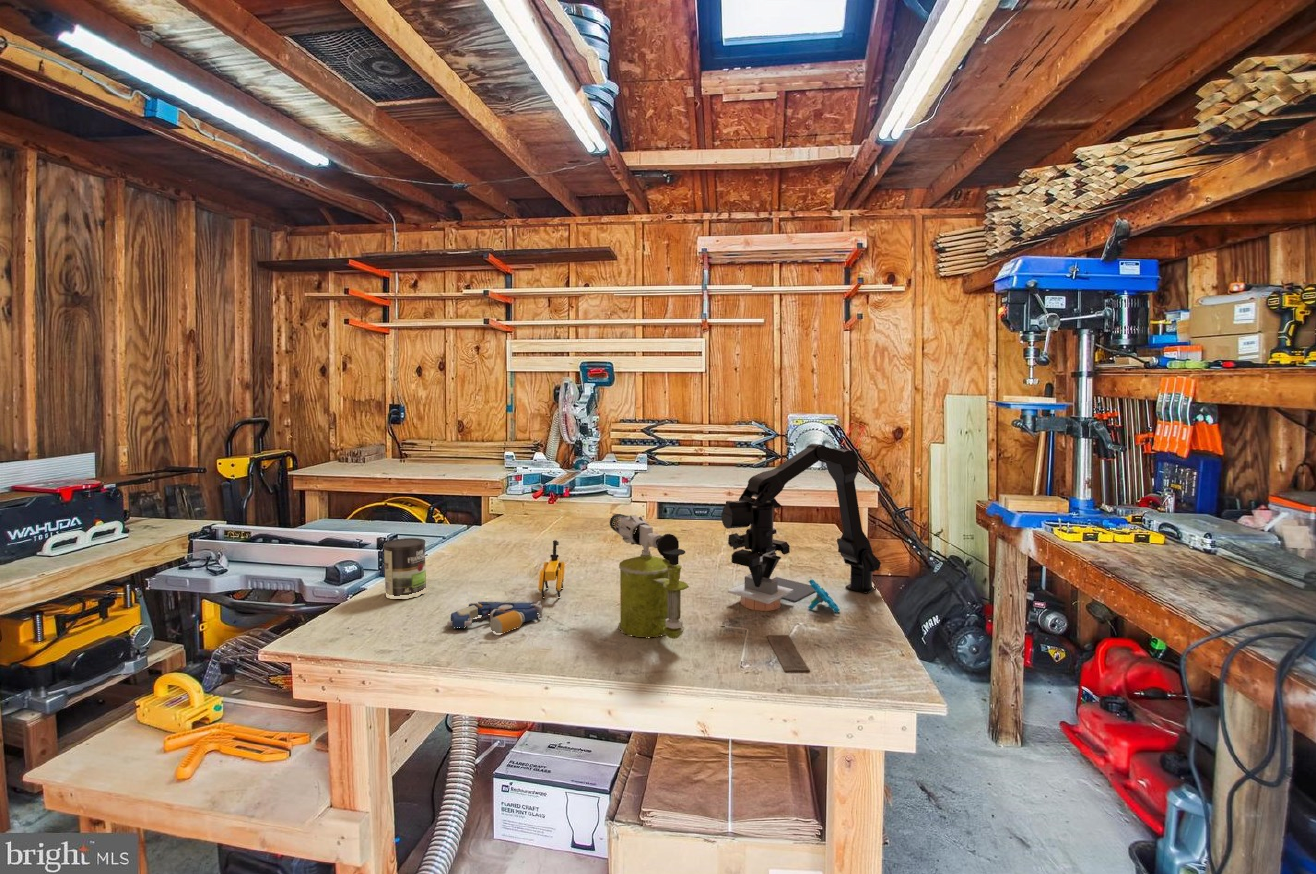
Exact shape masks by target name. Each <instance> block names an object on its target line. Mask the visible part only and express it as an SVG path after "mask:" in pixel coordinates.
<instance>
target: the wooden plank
mask: <svg viewBox="0 0 1316 874" xmlns="http://www.w3.org/2000/svg"><path fill="white" fill-rule="evenodd" d="M766 638H767V640H768V642H769V644H770V646H771V648H772V650H773V653H774V654H775V656H776V657H777V660H778V661H779V663H780V665H781V667H782V669H783V670H784V673H810V672H811V670H810V668H809V667H808V666H807V665H808V664H806V662H805V660H804V658H803V657H802V655H801V654H800V653H799V651H798V649H797V646H796V645H795V643H794V642H793V639H791V637H790V635H788V634H781V635H780V634H774V635H773V634H768V635H767V634H766Z"/></svg>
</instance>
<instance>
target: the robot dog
mask: <svg viewBox="0 0 1316 874" xmlns="http://www.w3.org/2000/svg"><path fill="white" fill-rule="evenodd" d="M552 543H553V544H552V554H550V556H549V557H550V559H549V561H548V562H547V561H545V562H544V563H543V569H541V570H540V572H539V580H538V590H539V592H541V597H542V598H543V597H545V598H546V595H545V589H546V588H548V589H549V585H548V582H549V581H550V582H552V581H554V582H555V581H556V585H555V590H556V592H557V598H558V597H560V596H561V588H563V589H564V581H565V570H566V569H565V568H566V564H565V561H561V559H560V558H559V554H557V546H559V545H560V544H559V541H557V540H556V539H555V540H553V541H552ZM544 587H545V589H544Z"/></svg>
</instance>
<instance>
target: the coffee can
mask: <svg viewBox="0 0 1316 874" xmlns="http://www.w3.org/2000/svg"><path fill="white" fill-rule="evenodd" d="M383 550H384V551H383V555H384V556H383V557H384V583H385V584H384V586H385V590H384V591H386V593H387V594H389V595H394V596H400V595H409V594H412V593H416V592H419V591H421V590H423V589H424V588H426V589H427V580H426V579H427V576H426V573H427V572H426V571H427V570H426V540H425V539H423V538H418V537H417V538H416V537H407V538H404V537H403V538H399V539H393V540H392V539H391V540H387V542H385V543H383Z"/></svg>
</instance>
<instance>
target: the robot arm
mask: <svg viewBox="0 0 1316 874" xmlns="http://www.w3.org/2000/svg"><path fill="white" fill-rule="evenodd" d="M818 462H822V463H824V464H825V465H826V468H827V472H828V473H829V475H830V476H831V478H832V479H833V481H834V483H835V488H836V493H837V500H838V504H839V505H838V506H839V513H840V517H841V519H840V520H841V525H842V529H843V530H842V531H843V532H842V534H841V536H840V537H839V538H837V539H836V542H837V547H838V550H837V552H838V553H839V554H840V555H841V557H842V558H843V561H844V564H845V565H849V566H850V575H849V576H850V579H849V580H850V582H849V584H847V585H845V589H847V590H851V591H856V592H859V593H865V594H870V593H871V592H873V591H874V590H876V589H877V587H878V586H877V585H873V572H874V573H875V571H879V570H880V567H881V564H882V563H881V561H880V559H878V558H877V556H876V555H875V554H874V553H873V548H872V545H871V543H870V540H869V539H868V536H866V534H865V532H864V530H863V526H862V521H861V520H862V519H861V515H860V507H859V501H858V495H857V489H856V488H857V487H856V484H855V483H856V482H855V480H856V478H857V475H858V474H859V457H858V454H857V453H856V452H854V450H851V449H843V448H835V447H834V448H831V447H828V446H825V445H824V444H820V443H810V444H807V446H806V447H805V448H804V449H803V450H801V451H799V452H798V453H796V454H795V455H793V456H792V457H790V458H788V459H787V460H786V461H784V462H783V463H781V464H780V465H778V466H777V467H775V468H773V469H771V470H766V471H762V472H760V473H758V474H755V475H753V476H751V477H750V478H749V479H748V481H747V486H746V487H745V489H744V490H743V492H742V494H741V495H740V497H739V499H738V500H726V501H725V506H724V507H723V508H722V512H721V514H720V515H721V516H720V518H721V523H722V525H723V527H724V528H725V529H727V530H729V529H738V528H739V529H740V528H741V529H742V528H746V531H745V533H744V534H739V533H737V532H736V533H731V534H728V540H727V541H728V542H727V545H728V546H729V547H730V548H732V549H733V550H734V552H733V553H731V563H732V564H735V565H739V566H743V567H746V568H747V567H748V569H749V572H750V574H751V575H752V578H753V581H754V584H755V586H756V587H760V584H761V581H762V578H763V577H766V578H770V579H771V576H772V574H773V572H774V571H775V568H776V567H777V565H778V562H779V561H780V560H781V559H782V557H781V556H779V555H777V553H776V552H777V551H778V552H780V553H781V554H782V555H787V554H789V553H790V551H791V550H790V549H791V547H790V544H789V543H788V541H784V540H778V539H775V538H774V535H775V534H777V529H775V528H774V509H779V508H781V507H782V505H781V504H780V502H778V501H777V500H776V497H777V496H778V495H779V494H780V493H781V492H782V491H783V490H784V487H785V486H786V484H788V482H790V481H791V480H792V479H795V478H796V477H798V476H799V475H801V473H803V472H805V471H806V470H808V469H809V468H811V467H812V466H813V465H815V464H817V463H818ZM748 527H750V528H748ZM739 548H740V549H739ZM741 548H744V549H741ZM737 549H739V550H737ZM735 550H736V551H735ZM872 585H873V586H874V588H875V589H874V588H873V587H872Z"/></svg>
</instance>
